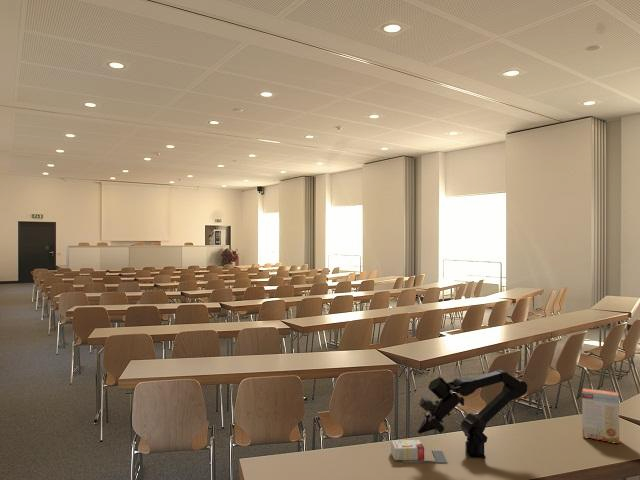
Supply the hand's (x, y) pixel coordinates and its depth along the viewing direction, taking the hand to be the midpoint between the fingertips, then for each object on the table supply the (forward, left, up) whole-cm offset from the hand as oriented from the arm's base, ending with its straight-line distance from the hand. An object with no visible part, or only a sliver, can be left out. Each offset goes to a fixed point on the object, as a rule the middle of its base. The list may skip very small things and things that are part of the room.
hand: (418, 432), depth 200 cm
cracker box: (-82, -23, -10) cm, 86 cm away
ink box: (-1, +1, -6) cm, 7 cm away
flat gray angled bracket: (-2, +1, -9) cm, 10 cm away
